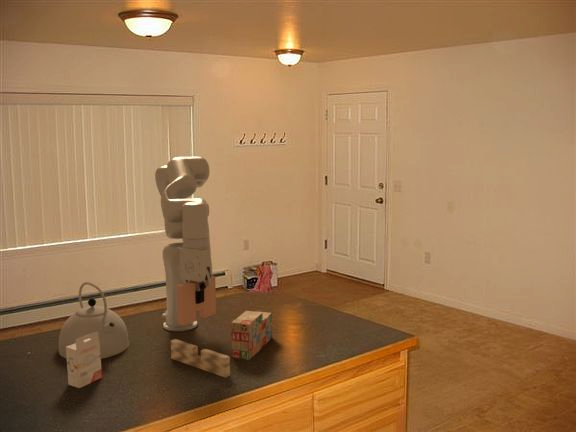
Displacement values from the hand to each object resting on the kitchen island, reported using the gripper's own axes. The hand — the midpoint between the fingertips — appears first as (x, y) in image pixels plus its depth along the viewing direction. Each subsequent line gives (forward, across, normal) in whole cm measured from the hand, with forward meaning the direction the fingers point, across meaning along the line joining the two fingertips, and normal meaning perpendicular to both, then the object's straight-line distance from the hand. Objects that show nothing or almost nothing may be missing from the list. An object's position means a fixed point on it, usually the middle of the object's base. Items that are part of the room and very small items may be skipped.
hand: (197, 301), depth 182 cm
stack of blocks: (+21, +2, +23) cm, 31 cm away
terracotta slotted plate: (+5, 0, 0) cm, 5 cm away
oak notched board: (+21, 0, 0) cm, 21 cm away
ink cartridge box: (+21, -19, -28) cm, 40 cm away
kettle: (+21, -39, -10) cm, 46 cm away
